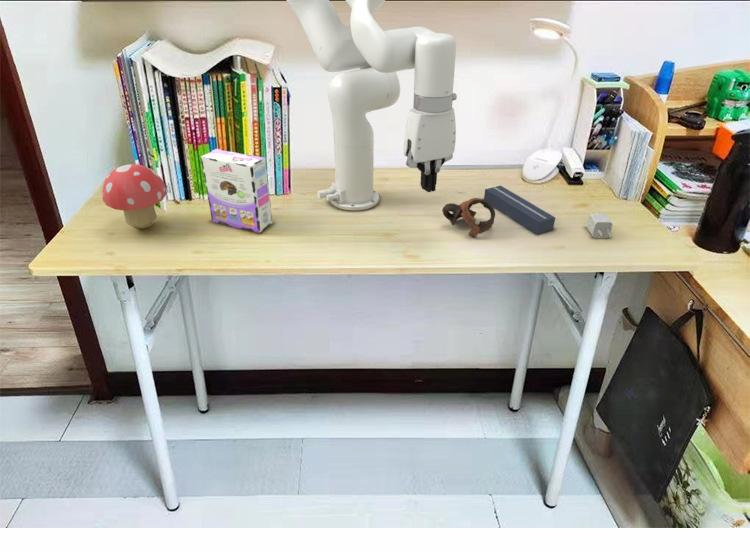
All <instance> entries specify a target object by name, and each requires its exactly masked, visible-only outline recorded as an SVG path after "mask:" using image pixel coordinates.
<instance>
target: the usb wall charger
mask: <svg viewBox="0 0 750 552" xmlns="http://www.w3.org/2000/svg"><path fill="white" fill-rule="evenodd" d="M613 227H614V223H613V222H612V221H611V219H610V218H609V216H608V215H607V214H606V213H603V212H602V213H601V212H600V213H598V212H597V213H596V212H595V213H594V212H593V213H590V214H589V215H588V219H587V222H586V228H587V230H588V232H589V233H590V234H591V237H593V238H596V239H605V238H606V239H607V238H611V237H612V230H613Z"/></svg>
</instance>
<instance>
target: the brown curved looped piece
mask: <svg viewBox="0 0 750 552" xmlns="http://www.w3.org/2000/svg"><path fill="white" fill-rule="evenodd" d="M478 204H480V205H482V206H483V208H485V209H487V210H488V211H489V214H490V217H489V218H488V219H487V220H480V221H479V223H475V222H476V218H475V216H476V214H477V211H474V210H472V209H471V208H472V207H473V206H474V205H478ZM441 211H442V214H443V216H444V218H445V219H446V220H448V221H450V223H451V225H452V226H455V223H456V221H457V220H459V219H460V218H463V220H464V221H465V222H466V223H467V225H469V227H471V229H470V231H469V232H468V236H469V237H472V238H475V237H477V236H478V235H481V234H484V233H485V232H487V231H489V230H490V229H492V226H493V225H494V223H495V218H496V210H495V207H493V206H492V205H491V204H490V203H489V202H487V201H486V200H484V198H480V197H474V198H473V197H472V198H470V199H469V200H465V201H463V202H462V203H460V204H456V203H446V204H445V205H444V206H443V207H442V209H441Z"/></svg>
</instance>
